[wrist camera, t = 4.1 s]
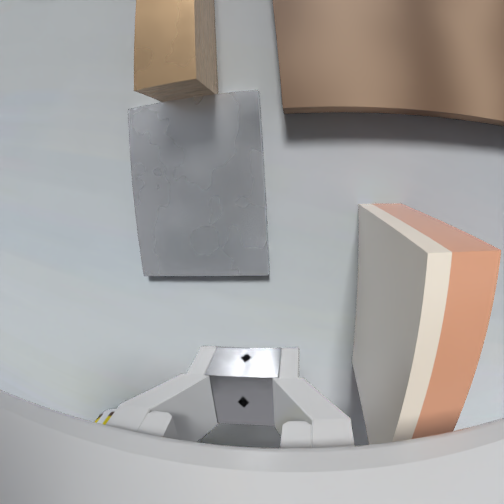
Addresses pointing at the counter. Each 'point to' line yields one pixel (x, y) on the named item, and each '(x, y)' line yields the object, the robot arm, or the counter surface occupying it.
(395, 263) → the tile
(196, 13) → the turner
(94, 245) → the counter surface
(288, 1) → the board
